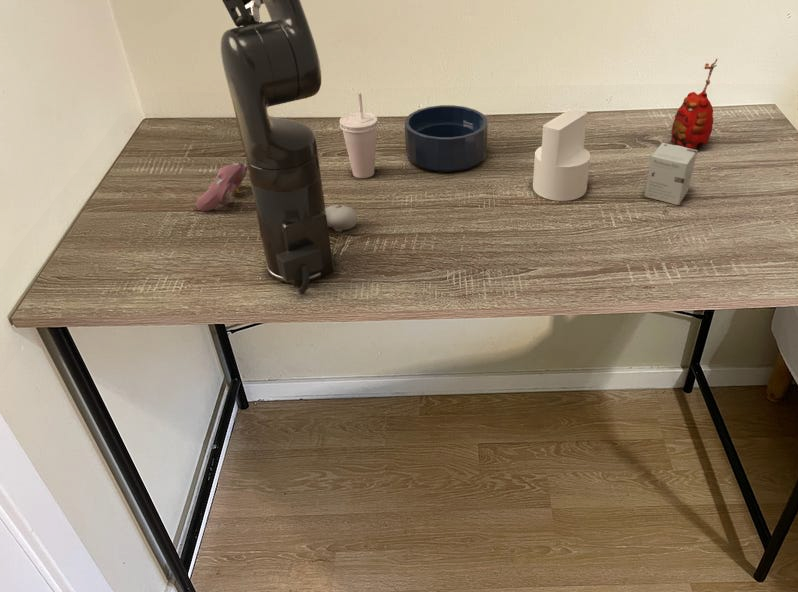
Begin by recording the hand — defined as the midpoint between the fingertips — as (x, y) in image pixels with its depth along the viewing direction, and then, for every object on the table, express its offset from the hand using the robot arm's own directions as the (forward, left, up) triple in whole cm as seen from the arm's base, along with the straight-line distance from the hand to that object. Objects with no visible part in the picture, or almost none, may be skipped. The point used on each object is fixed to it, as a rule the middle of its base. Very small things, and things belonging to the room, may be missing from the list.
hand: (284, 40), depth 121 cm
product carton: (-45, -44, -21) cm, 67 cm away
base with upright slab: (-33, -31, -21) cm, 50 cm away
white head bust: (-22, +6, -21) cm, 32 cm away
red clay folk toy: (-34, -62, -21) cm, 74 cm away
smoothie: (-9, -7, -21) cm, 24 cm away
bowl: (-12, -22, -21) cm, 33 cm away
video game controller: (-4, +16, -21) cm, 27 cm away
